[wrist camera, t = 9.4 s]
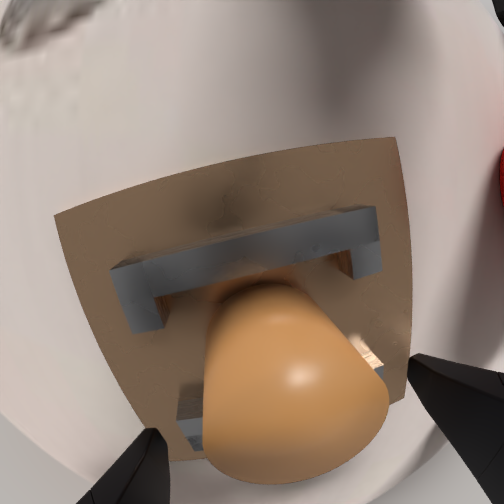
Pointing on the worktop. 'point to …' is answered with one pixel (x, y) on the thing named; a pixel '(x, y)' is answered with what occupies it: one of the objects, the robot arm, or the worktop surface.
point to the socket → (242, 266)
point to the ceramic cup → (502, 177)
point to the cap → (284, 389)
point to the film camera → (499, 10)
